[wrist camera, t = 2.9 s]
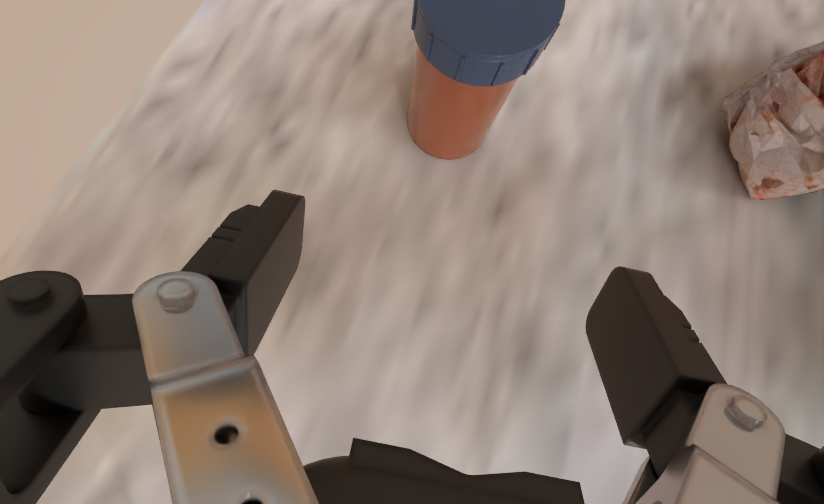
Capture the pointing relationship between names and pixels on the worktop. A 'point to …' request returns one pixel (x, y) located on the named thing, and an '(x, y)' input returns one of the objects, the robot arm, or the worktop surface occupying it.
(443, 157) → the jar
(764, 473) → the robot arm
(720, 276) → the worktop surface
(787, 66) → the food item
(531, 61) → the lid
